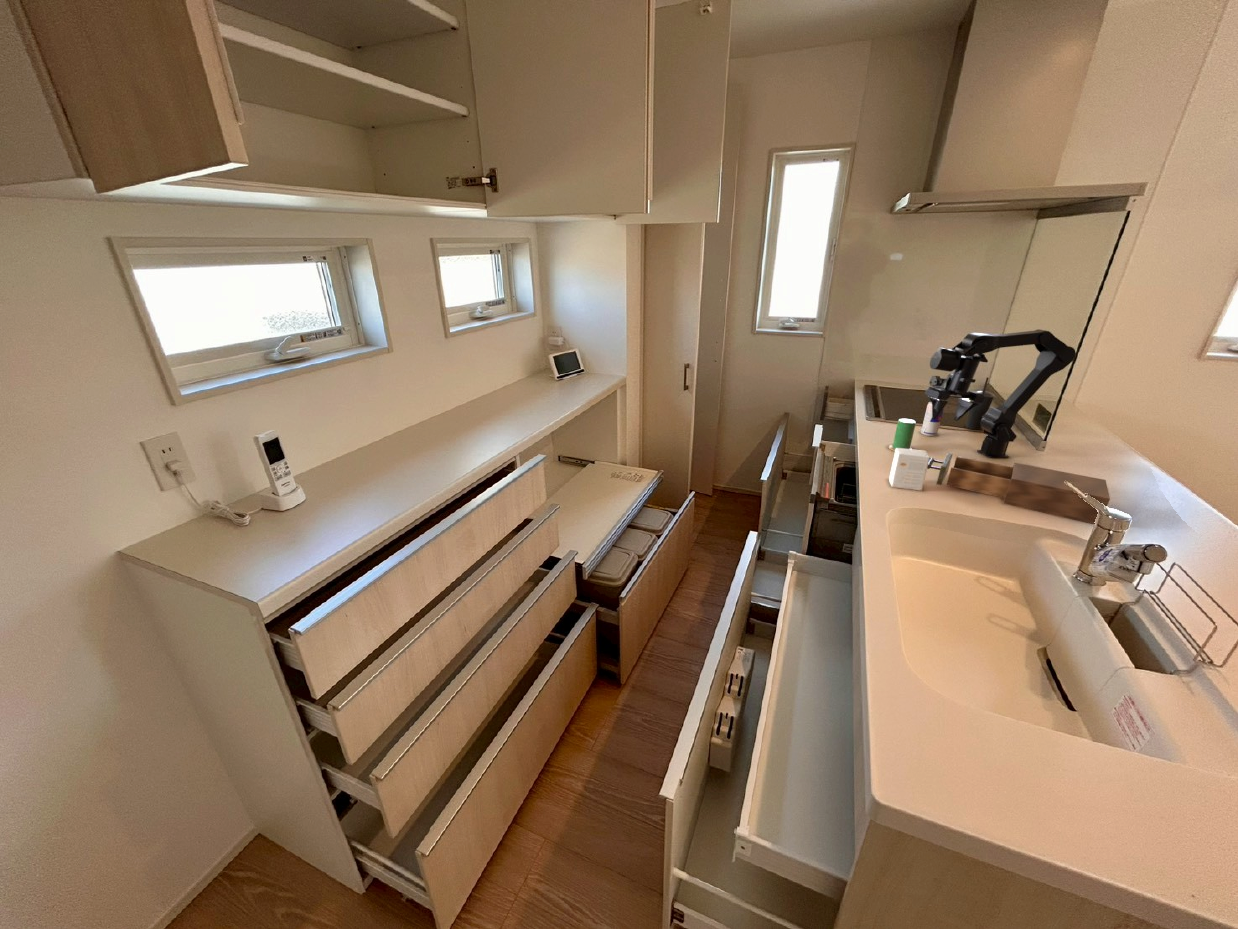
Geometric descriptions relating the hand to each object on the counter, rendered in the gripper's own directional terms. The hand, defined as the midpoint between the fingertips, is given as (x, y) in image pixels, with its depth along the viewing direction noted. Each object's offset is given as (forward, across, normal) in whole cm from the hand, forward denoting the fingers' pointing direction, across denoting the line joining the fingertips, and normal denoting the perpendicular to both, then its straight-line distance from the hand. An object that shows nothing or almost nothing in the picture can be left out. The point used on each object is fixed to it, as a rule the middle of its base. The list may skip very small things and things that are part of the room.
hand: (944, 419), depth 165 cm
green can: (+13, +7, -6) cm, 16 cm away
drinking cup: (+8, -38, -19) cm, 43 cm away
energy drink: (+11, -15, -17) cm, 25 cm away
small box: (+15, +28, +20) cm, 38 cm away
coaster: (+13, +7, -6) cm, 16 cm away
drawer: (+12, +11, +25) cm, 29 cm away
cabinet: (+10, 0, +40) cm, 41 cm away
